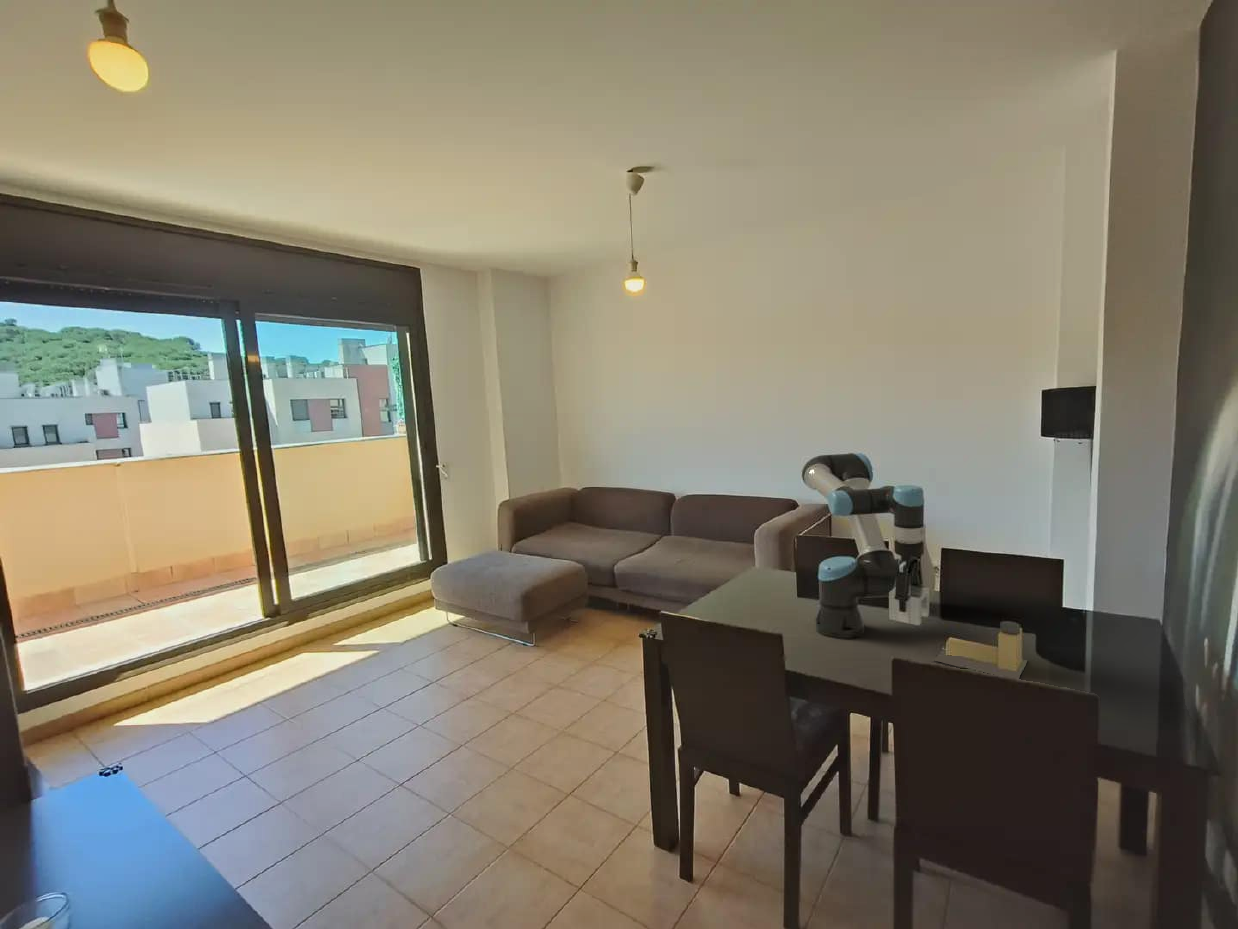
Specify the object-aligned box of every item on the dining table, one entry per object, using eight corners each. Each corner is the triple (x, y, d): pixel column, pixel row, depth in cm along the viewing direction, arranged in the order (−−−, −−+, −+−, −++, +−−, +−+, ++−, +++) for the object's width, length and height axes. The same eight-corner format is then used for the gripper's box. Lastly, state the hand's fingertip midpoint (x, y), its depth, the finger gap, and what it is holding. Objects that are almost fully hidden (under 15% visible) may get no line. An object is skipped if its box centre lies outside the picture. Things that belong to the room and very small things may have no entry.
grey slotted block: (889, 619, 165) (889, 592, 164) (899, 609, 172) (899, 583, 171) (919, 625, 160) (919, 597, 159) (929, 614, 166) (929, 588, 165)
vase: (943, 607, 200) (942, 523, 197) (922, 618, 192) (921, 530, 189) (905, 597, 211) (903, 518, 208) (883, 607, 204) (882, 524, 201)
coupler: (944, 658, 163) (943, 617, 162) (952, 648, 169) (951, 608, 167) (1016, 675, 151) (1017, 631, 150) (1022, 663, 157) (1022, 621, 156)
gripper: (910, 551, 152) (911, 632, 155) (934, 533, 168) (934, 606, 171) (881, 547, 158) (882, 625, 160) (907, 530, 173) (908, 601, 176)
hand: (909, 616), depth 166 cm, fingers closed on grey slotted block, 9 cm apart
